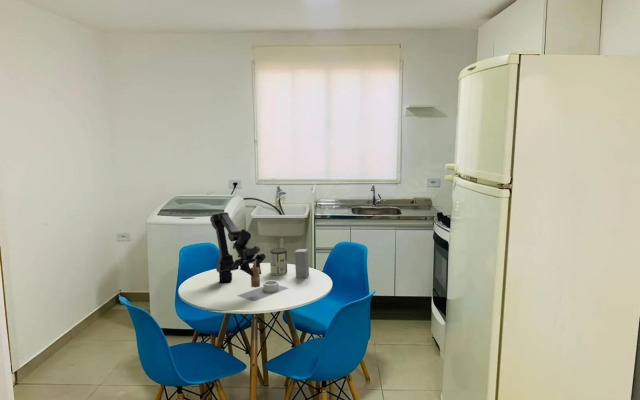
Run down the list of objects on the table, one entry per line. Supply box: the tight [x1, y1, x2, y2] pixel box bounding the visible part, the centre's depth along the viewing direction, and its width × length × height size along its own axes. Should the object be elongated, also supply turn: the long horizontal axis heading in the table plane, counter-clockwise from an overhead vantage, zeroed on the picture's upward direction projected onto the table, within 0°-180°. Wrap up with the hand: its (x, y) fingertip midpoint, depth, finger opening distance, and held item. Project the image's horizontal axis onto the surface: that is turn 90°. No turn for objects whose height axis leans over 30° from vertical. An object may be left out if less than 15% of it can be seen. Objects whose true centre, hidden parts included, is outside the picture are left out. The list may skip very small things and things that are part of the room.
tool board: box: [236, 279, 289, 302], centre depth 230 cm, size 25×13×4 cm, turn 141°
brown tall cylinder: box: [250, 261, 261, 288], centre depth 224 cm, size 4×4×13 cm
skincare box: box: [294, 248, 310, 279], centre depth 259 cm, size 8×7×16 cm
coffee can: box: [269, 247, 288, 276], centre depth 266 cm, size 10×10×14 cm
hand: (257, 275), depth 223 cm, fingers closed on brown tall cylinder, 4 cm apart
